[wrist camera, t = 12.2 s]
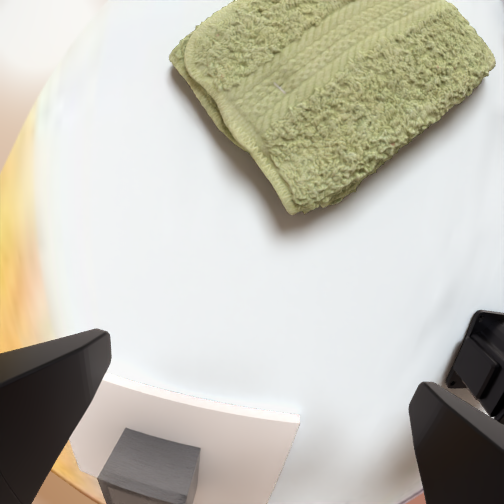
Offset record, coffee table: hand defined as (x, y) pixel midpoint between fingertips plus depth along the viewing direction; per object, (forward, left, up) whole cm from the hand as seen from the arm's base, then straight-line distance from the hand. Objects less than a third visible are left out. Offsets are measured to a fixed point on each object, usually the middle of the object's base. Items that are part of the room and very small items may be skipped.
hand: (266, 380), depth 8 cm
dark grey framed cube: (+6, +19, -10) cm, 22 cm away
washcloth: (-2, -13, -12) cm, 18 cm away
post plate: (+6, +19, -11) cm, 23 cm away
